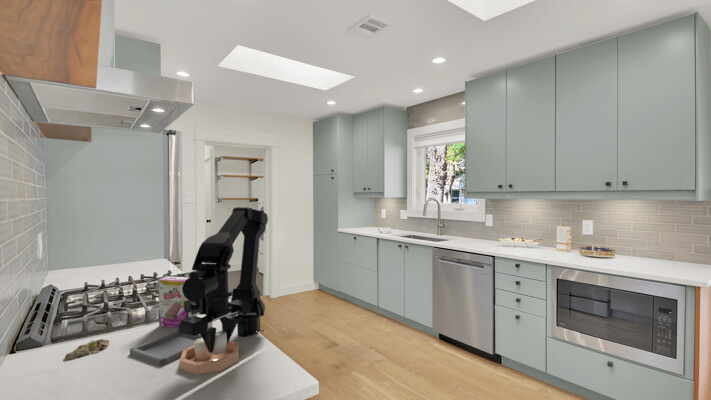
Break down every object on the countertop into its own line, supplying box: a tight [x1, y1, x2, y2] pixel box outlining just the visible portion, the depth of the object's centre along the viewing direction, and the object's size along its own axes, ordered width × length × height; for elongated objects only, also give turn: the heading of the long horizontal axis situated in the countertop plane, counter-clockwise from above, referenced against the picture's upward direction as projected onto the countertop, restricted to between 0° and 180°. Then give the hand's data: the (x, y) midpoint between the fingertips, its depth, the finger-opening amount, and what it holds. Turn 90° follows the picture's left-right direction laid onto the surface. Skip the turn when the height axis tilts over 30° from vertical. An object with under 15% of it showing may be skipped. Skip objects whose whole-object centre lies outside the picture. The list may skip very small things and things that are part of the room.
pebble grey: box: [209, 330, 227, 355], centre depth 93 cm, size 4×4×4 cm
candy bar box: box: [157, 276, 198, 329], centre depth 118 cm, size 11×5×16 cm, turn 79°
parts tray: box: [129, 329, 202, 366], centre depth 101 cm, size 16×14×2 cm
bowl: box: [179, 339, 240, 375], centre depth 94 cm, size 14×14×3 cm
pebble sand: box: [194, 338, 213, 361], centre depth 95 cm, size 4×4×4 cm
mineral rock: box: [64, 338, 110, 360], centre depth 100 cm, size 11×4×8 cm
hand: (218, 348), depth 93 cm, fingers closed on pebble grey, 4 cm apart
